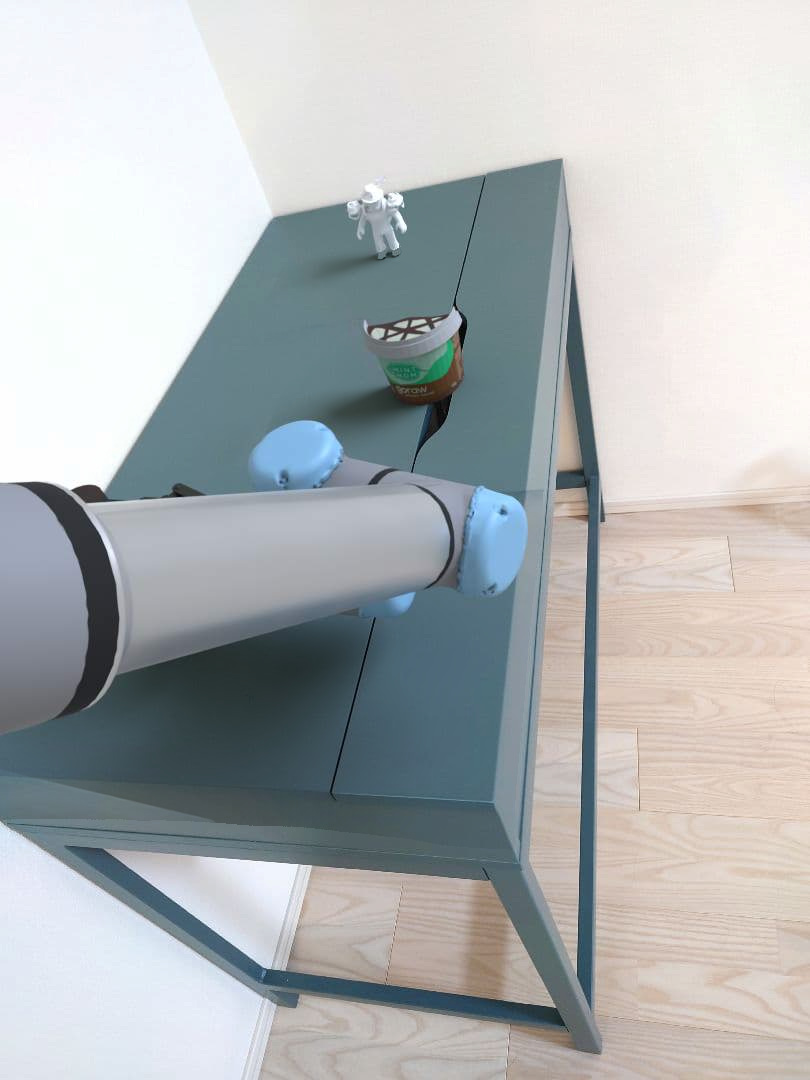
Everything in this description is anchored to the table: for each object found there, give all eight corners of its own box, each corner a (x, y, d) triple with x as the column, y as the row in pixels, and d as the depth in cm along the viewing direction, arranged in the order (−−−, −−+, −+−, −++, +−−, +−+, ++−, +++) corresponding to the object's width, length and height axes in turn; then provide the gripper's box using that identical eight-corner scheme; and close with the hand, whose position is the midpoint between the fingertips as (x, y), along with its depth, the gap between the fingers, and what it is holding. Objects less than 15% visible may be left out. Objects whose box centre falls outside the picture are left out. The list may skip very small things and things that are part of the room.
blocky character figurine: (417, 242, 128) (397, 168, 120) (414, 255, 126) (393, 181, 117) (364, 252, 131) (341, 180, 122) (360, 265, 128) (335, 193, 120)
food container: (374, 415, 101) (349, 350, 94) (383, 384, 105) (360, 320, 98) (470, 405, 97) (451, 336, 90) (475, 373, 101) (458, 305, 94)
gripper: (222, 693, 72) (42, 665, 81) (317, 502, 86) (155, 495, 95) (183, 647, 67) (-4, 621, 76) (292, 451, 81) (122, 448, 89)
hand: (84, 551), depth 85 cm, fingers open, 11 cm apart
